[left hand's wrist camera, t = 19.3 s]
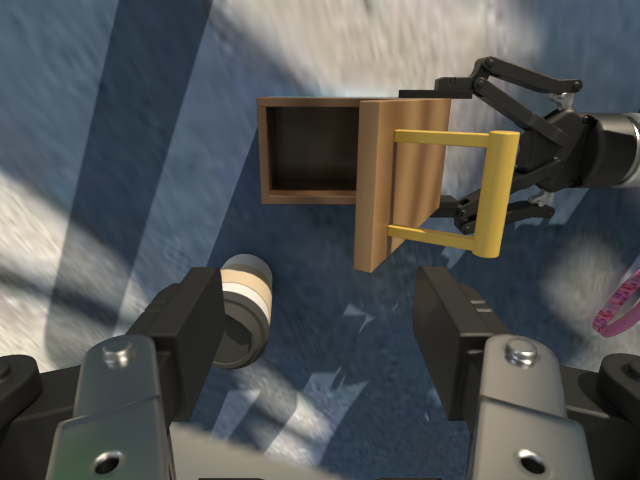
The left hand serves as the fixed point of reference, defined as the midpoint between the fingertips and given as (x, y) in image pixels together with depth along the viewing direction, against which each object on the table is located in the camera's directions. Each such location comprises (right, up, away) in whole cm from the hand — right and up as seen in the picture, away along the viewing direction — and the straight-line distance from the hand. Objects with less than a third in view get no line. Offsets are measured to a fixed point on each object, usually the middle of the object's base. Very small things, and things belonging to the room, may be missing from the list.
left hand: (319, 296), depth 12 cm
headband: (+42, -6, +43) cm, 60 cm away
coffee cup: (-10, -3, +42) cm, 43 cm away
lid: (+6, +7, +19) cm, 21 cm away
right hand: (+8, +11, +29) cm, 32 cm away
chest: (+3, +13, +35) cm, 38 cm away
